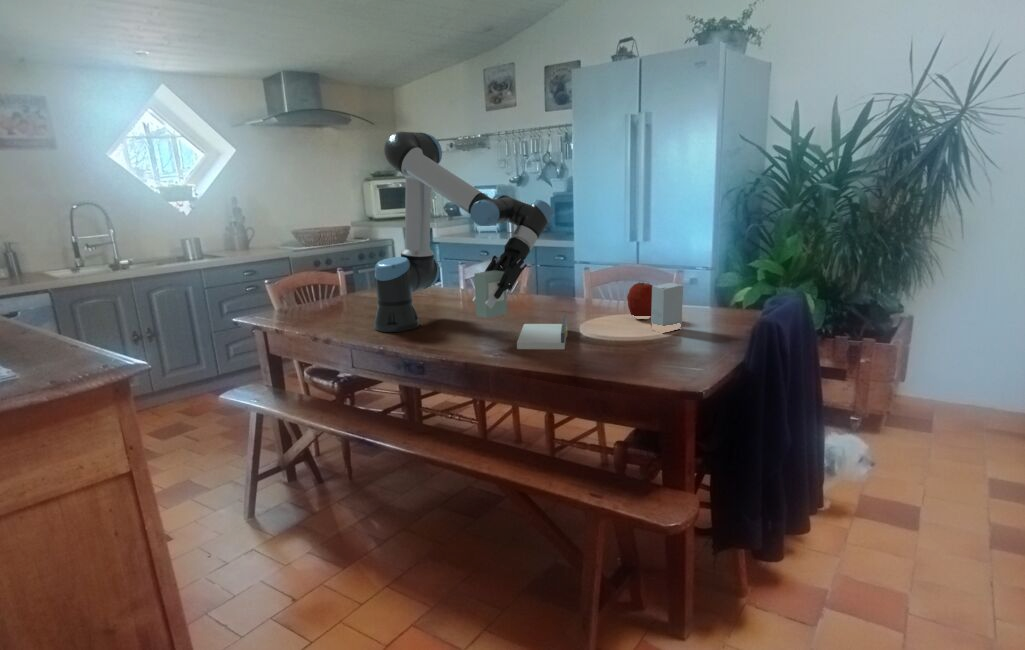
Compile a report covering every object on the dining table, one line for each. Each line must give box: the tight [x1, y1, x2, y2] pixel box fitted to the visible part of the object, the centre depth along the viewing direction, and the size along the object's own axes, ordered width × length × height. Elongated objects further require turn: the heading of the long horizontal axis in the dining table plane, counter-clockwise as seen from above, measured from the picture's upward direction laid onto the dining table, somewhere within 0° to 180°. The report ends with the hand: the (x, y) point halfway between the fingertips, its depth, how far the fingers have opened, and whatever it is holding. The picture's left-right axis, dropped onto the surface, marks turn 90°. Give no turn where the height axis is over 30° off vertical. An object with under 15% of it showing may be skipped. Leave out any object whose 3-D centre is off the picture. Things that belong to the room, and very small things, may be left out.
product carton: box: [473, 270, 508, 319], centre depth 179 cm, size 5×8×13 cm, turn 133°
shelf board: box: [516, 314, 568, 350], centre depth 184 cm, size 15×22×5 cm, turn 173°
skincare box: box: [650, 282, 684, 326], centre depth 188 cm, size 8×6×15 cm
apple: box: [627, 282, 654, 316], centre depth 203 cm, size 10×10×14 cm
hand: (481, 304), depth 177 cm, fingers closed on product carton, 5 cm apart
